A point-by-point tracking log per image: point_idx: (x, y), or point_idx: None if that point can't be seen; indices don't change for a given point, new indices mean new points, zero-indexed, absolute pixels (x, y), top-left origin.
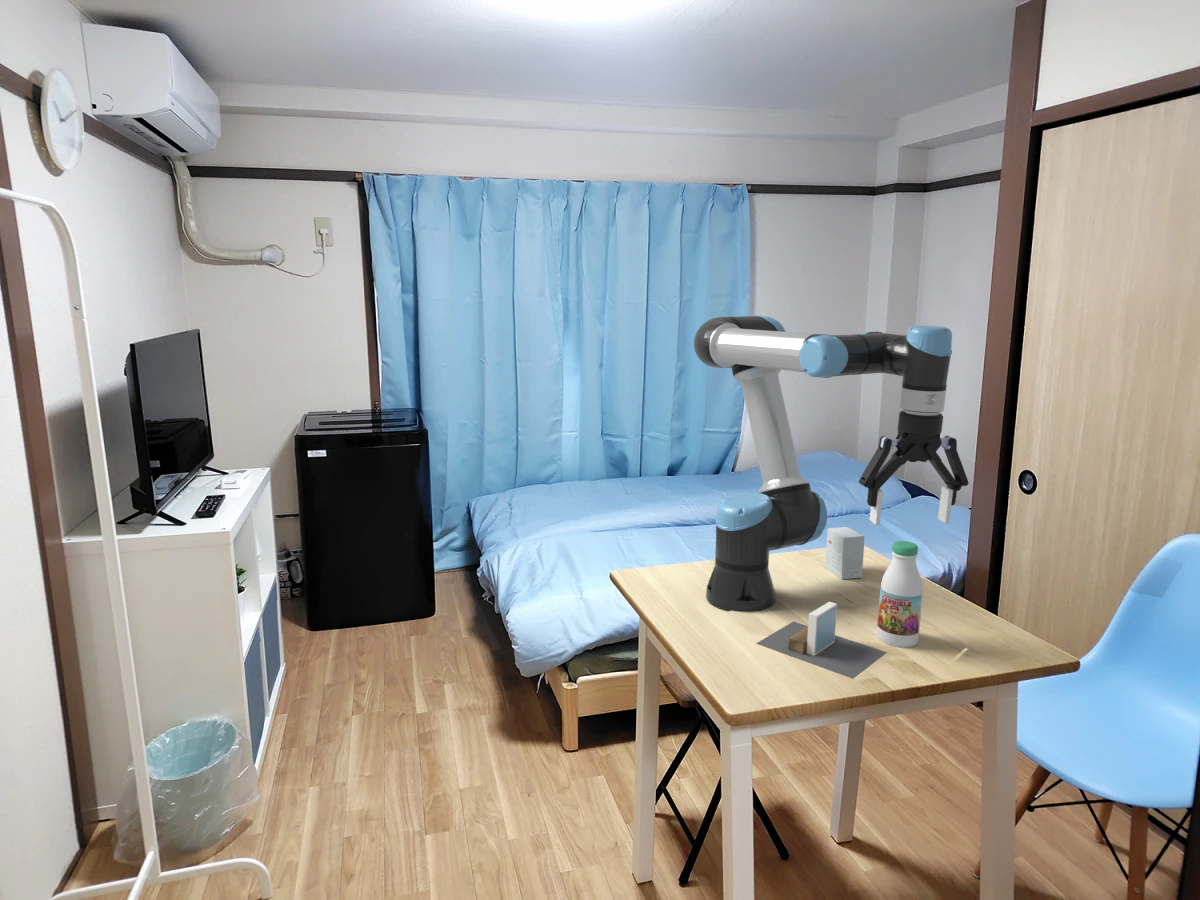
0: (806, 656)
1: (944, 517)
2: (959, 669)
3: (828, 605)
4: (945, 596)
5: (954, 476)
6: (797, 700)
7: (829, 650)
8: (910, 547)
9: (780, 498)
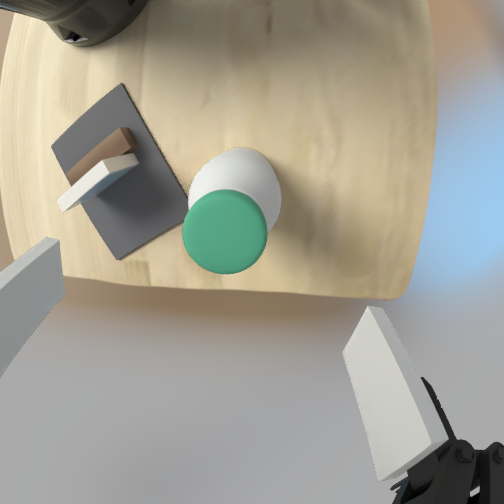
0: None
1: (352, 361)
2: (264, 278)
3: (93, 176)
4: (430, 85)
5: (486, 482)
6: None
7: (120, 185)
8: (218, 269)
9: None
